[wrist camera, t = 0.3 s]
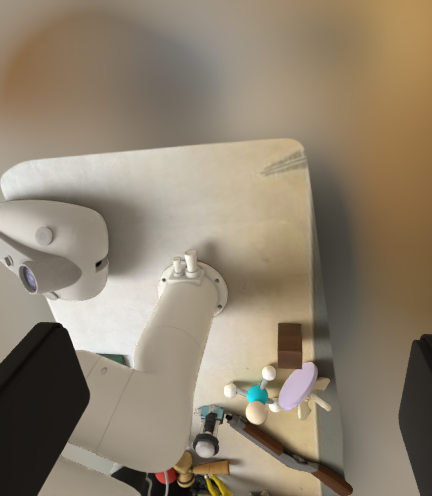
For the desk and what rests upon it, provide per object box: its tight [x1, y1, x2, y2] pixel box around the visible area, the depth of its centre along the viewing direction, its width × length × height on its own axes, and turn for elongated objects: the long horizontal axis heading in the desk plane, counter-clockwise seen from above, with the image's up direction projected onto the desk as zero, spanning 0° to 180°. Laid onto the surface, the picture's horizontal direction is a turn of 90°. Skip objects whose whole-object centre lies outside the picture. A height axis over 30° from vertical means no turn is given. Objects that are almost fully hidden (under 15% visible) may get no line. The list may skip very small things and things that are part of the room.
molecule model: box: [224, 366, 282, 424], centre depth 70 cm, size 12×12×9 cm
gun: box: [226, 414, 353, 496], centre depth 82 cm, size 2×34×7 cm
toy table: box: [278, 362, 332, 421], centre depth 68 cm, size 10×9×6 cm
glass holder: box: [109, 462, 169, 496], centre depth 82 cm, size 9×14×15 cm, turn 57°
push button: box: [192, 405, 224, 458], centre depth 76 cm, size 7×5×10 cm
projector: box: [0, 200, 108, 301], centre depth 59 cm, size 22×23×15 cm
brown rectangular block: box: [278, 323, 302, 370], centre depth 64 cm, size 4×4×7 cm
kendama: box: [155, 451, 229, 487], centre depth 88 cm, size 8×6×18 cm
